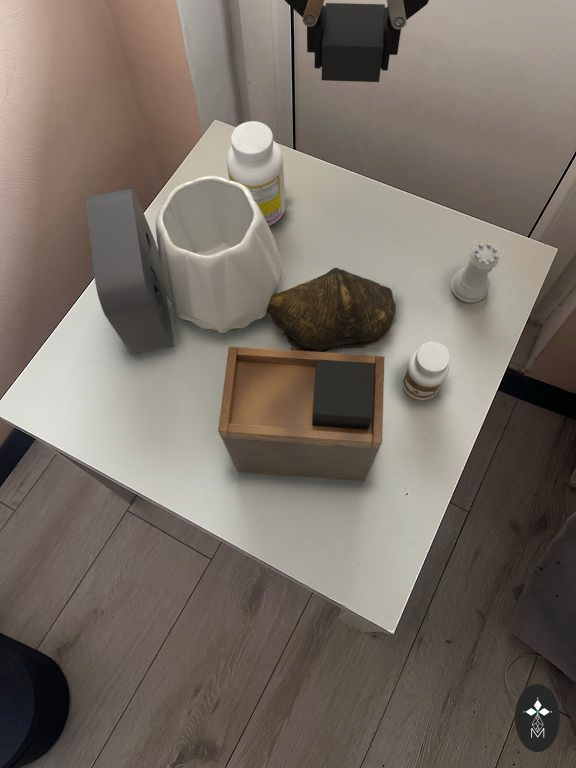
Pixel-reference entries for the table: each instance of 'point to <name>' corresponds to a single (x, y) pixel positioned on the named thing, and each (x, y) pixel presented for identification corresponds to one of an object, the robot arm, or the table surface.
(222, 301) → the vase
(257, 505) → the table surface
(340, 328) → the seashell
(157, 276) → the streaming box
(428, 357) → the pill bottle
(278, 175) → the supplement bottle
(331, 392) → the black square block
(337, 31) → the black cube
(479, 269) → the rook chess piece
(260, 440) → the box
